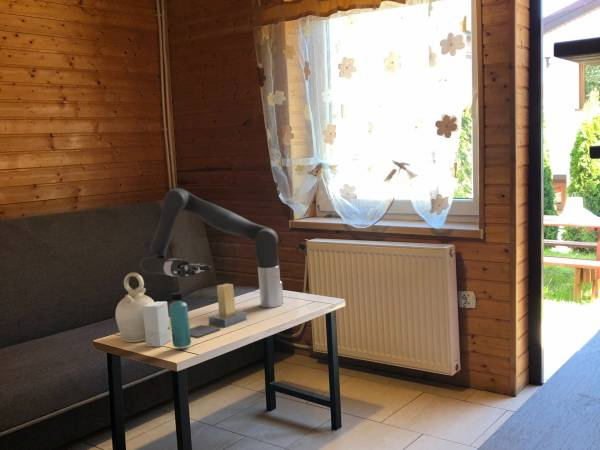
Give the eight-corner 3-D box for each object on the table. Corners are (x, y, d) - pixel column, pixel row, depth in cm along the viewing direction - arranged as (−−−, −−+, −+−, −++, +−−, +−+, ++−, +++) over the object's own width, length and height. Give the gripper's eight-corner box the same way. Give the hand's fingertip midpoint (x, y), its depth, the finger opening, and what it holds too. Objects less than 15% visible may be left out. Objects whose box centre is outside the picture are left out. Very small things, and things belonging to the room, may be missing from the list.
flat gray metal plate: (200, 326, 253) (200, 325, 253) (220, 330, 246) (220, 328, 246) (179, 334, 245) (178, 332, 245) (198, 337, 238) (198, 336, 238)
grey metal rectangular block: (230, 317, 264) (230, 309, 264) (246, 319, 258) (246, 312, 258) (209, 324, 255) (208, 317, 255) (225, 327, 249) (224, 319, 249)
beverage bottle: (195, 347, 226) (190, 291, 224) (180, 352, 221) (174, 295, 219) (184, 344, 231) (179, 289, 228) (169, 349, 226) (163, 293, 223)
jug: (138, 330, 254) (132, 267, 251) (168, 333, 246) (162, 269, 243) (109, 341, 241) (102, 276, 238) (139, 345, 233) (132, 277, 230)
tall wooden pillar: (228, 312, 259) (226, 283, 258) (235, 313, 257) (233, 284, 255) (219, 315, 256) (216, 286, 254) (226, 316, 253) (223, 286, 252)
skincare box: (160, 347, 229) (156, 306, 228) (145, 346, 231) (141, 306, 229) (171, 340, 237) (168, 300, 236) (157, 339, 239) (153, 300, 237)
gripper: (162, 262, 266) (188, 265, 256) (189, 256, 277) (215, 258, 267) (164, 279, 267) (190, 283, 257) (190, 273, 278) (216, 276, 268)
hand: (202, 270), depth 262 cm, fingers open, 8 cm apart
